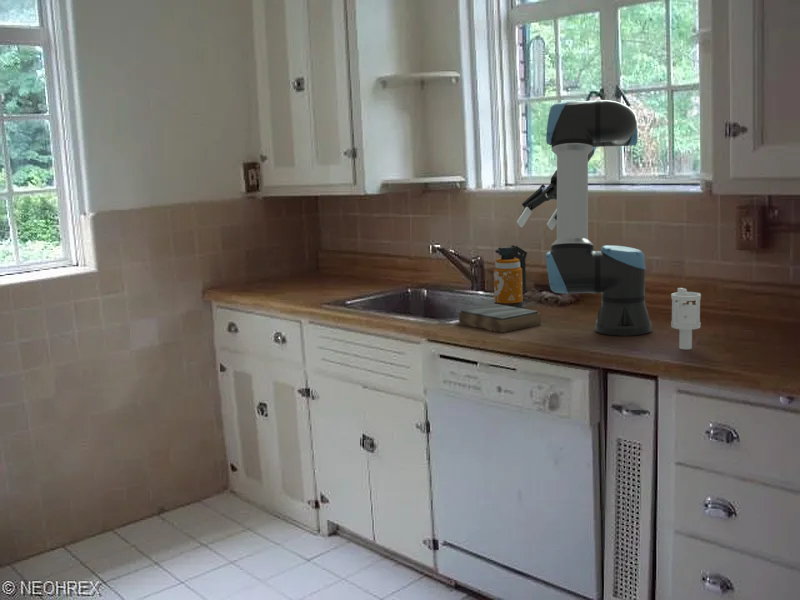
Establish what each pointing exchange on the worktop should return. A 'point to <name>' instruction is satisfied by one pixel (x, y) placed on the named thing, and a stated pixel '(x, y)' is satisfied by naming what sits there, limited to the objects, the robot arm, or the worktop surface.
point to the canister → (510, 277)
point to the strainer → (685, 315)
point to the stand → (500, 317)
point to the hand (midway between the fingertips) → (534, 226)
